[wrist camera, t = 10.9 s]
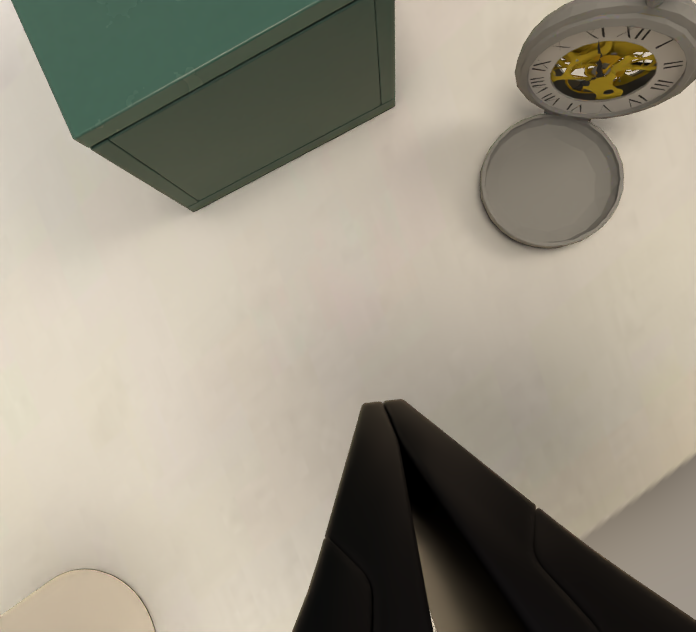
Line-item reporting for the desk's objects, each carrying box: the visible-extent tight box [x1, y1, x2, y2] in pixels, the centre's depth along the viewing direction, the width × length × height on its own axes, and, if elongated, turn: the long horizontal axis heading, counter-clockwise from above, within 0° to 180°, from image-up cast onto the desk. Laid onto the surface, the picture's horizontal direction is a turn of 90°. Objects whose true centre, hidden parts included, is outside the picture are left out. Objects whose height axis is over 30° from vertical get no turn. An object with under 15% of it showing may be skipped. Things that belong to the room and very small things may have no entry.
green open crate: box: [90, 0, 395, 212], centre depth 19 cm, size 14×13×8 cm
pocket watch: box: [480, 0, 696, 248], centre depth 16 cm, size 8×8×10 cm
